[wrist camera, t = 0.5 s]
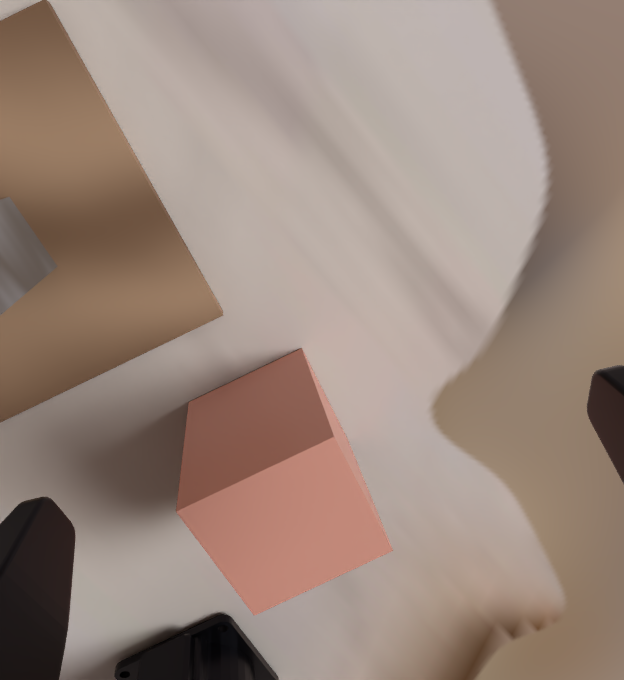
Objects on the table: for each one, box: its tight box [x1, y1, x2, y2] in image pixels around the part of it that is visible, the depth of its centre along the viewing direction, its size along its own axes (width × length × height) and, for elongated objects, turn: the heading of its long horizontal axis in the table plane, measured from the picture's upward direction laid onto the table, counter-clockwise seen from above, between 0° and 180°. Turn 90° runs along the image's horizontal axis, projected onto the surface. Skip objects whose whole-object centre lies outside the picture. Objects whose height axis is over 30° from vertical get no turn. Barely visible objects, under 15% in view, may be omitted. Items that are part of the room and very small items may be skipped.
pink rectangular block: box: [176, 348, 393, 615], centre depth 19 cm, size 5×5×7 cm
